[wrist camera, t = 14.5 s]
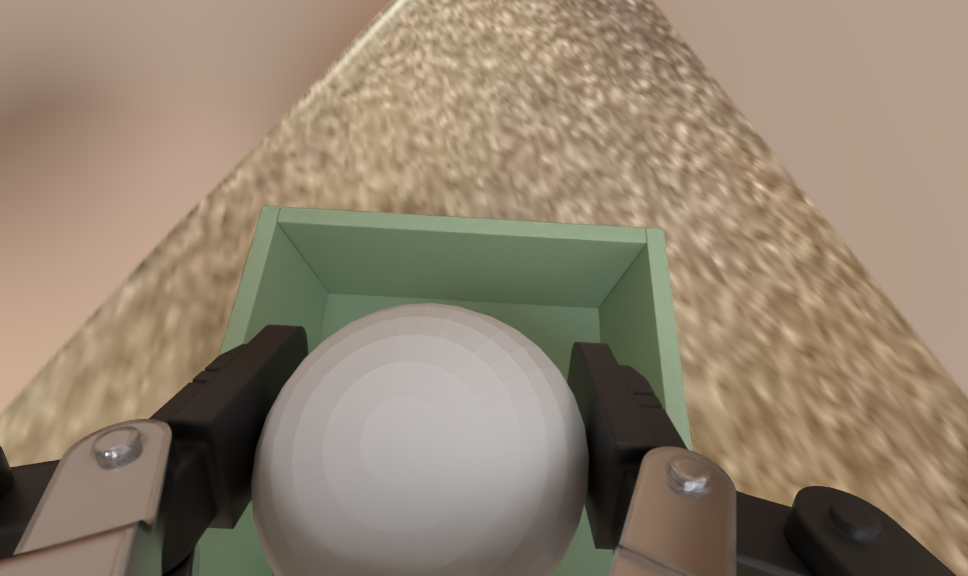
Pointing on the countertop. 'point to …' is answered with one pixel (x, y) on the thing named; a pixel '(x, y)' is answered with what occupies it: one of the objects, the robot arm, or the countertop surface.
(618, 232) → the bin
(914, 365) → the countertop surface
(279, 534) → the lollipop
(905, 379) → the countertop surface
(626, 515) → the robot arm
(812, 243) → the countertop surface
